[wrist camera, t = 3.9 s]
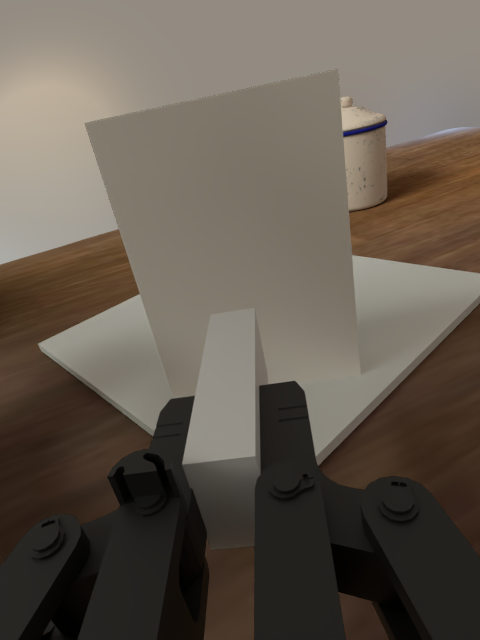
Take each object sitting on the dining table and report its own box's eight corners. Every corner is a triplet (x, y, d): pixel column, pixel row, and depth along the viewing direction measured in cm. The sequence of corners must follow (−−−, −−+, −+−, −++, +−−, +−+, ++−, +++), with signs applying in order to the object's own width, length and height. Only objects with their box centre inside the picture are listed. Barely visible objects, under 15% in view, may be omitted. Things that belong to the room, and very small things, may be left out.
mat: (40, 350, 34) (37, 343, 34) (250, 246, 46) (249, 240, 46) (263, 520, 17) (261, 510, 17) (498, 284, 29) (499, 276, 29)
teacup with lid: (363, 188, 59) (357, 91, 53) (405, 199, 51) (404, 86, 45) (280, 211, 56) (265, 112, 51) (311, 226, 49) (298, 111, 43)
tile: (361, 374, 23) (338, 69, 16) (174, 400, 24) (84, 123, 17) (351, 349, 25) (327, 70, 19) (180, 373, 26) (103, 119, 20)
